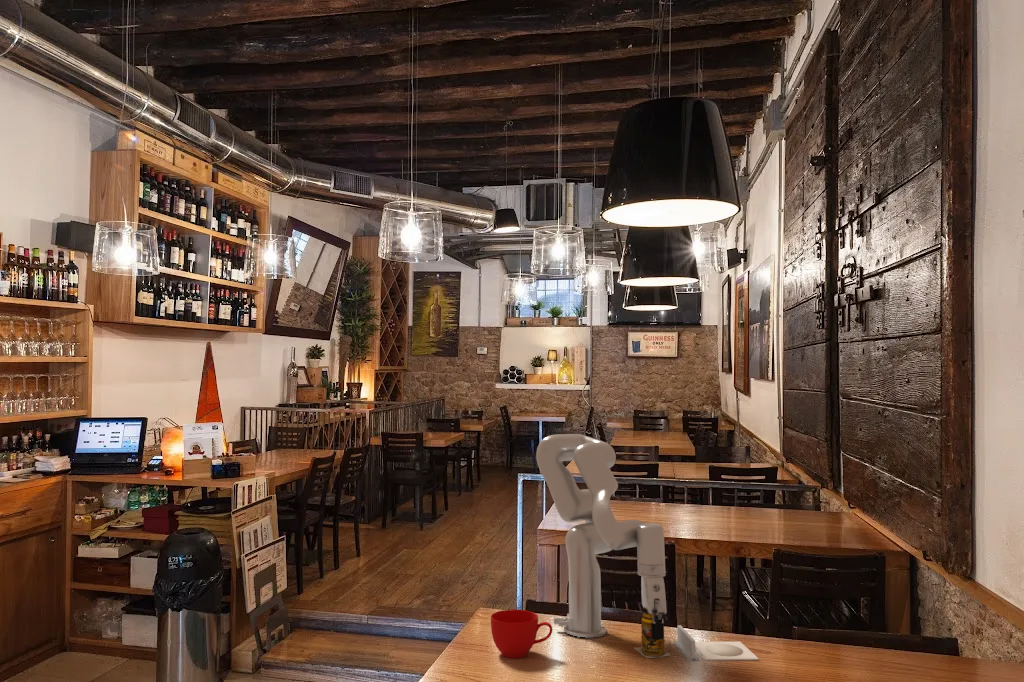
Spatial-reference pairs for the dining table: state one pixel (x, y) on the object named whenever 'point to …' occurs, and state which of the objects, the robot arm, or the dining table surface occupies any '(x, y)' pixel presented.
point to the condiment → (650, 639)
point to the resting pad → (724, 651)
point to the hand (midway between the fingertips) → (653, 633)
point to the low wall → (686, 644)
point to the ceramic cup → (516, 632)
